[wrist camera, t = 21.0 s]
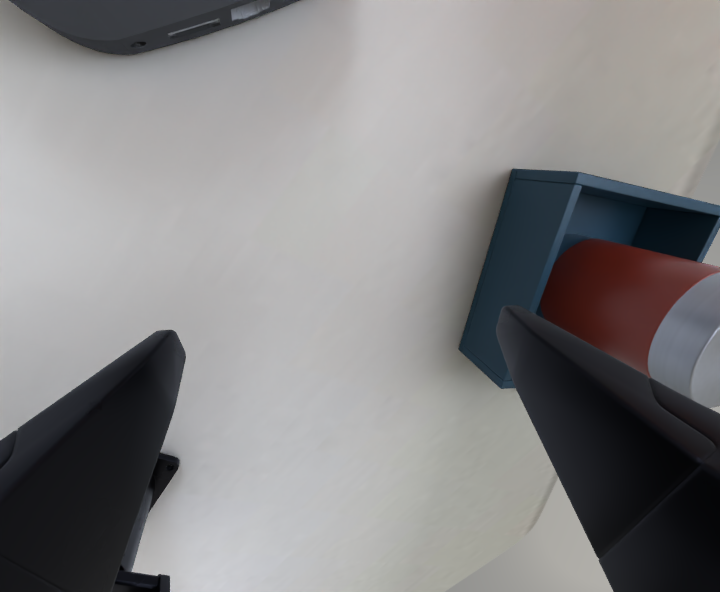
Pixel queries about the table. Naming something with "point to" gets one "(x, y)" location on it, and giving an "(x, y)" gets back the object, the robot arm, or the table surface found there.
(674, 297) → the tin can
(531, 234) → the tote
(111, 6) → the media streaming box
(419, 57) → the table surface
